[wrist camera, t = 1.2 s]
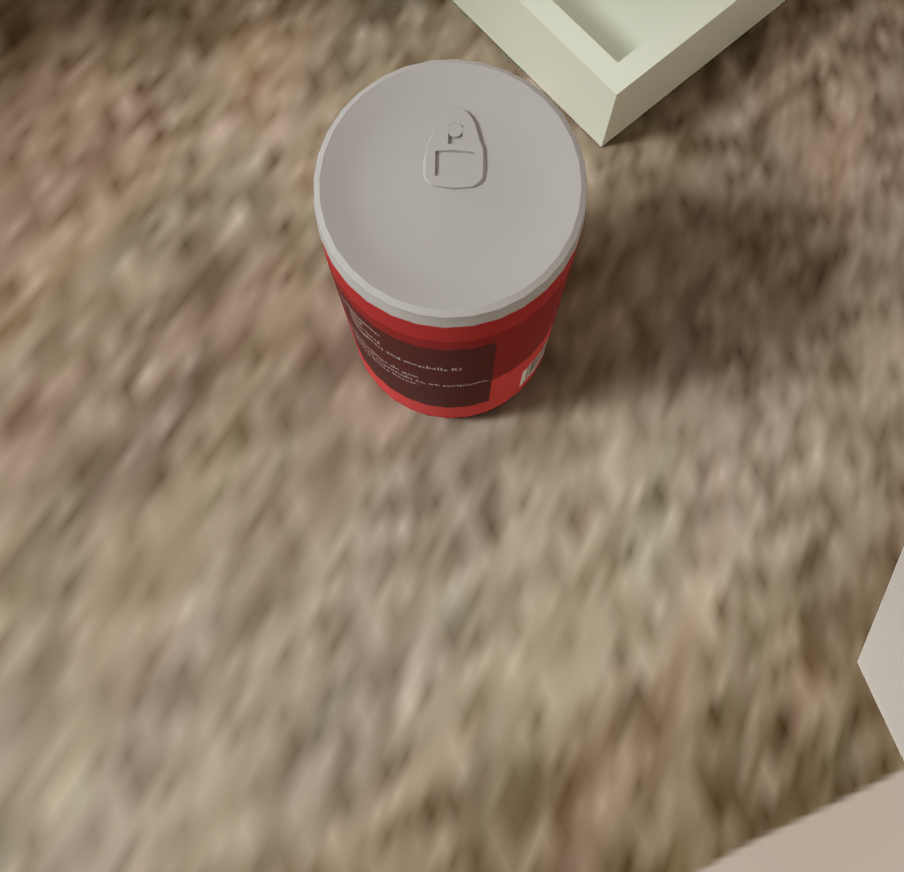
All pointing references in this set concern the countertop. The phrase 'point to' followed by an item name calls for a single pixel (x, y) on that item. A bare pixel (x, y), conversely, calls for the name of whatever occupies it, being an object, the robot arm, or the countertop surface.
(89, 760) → the countertop surface
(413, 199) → the canned food
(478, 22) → the tray
